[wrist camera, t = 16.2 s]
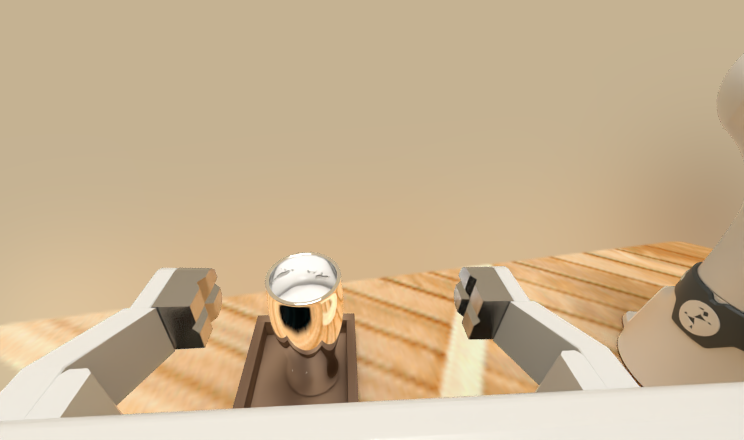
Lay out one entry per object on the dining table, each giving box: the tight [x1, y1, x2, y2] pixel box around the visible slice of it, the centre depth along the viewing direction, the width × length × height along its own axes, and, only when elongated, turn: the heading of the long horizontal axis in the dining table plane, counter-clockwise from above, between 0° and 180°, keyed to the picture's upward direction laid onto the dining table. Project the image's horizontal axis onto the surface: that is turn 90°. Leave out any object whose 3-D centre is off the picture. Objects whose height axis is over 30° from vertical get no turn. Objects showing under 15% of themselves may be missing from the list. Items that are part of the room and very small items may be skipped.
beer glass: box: [265, 252, 343, 396], centre depth 31 cm, size 7×7×15 cm
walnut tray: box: [233, 314, 358, 409], centre depth 35 cm, size 12×12×4 cm
